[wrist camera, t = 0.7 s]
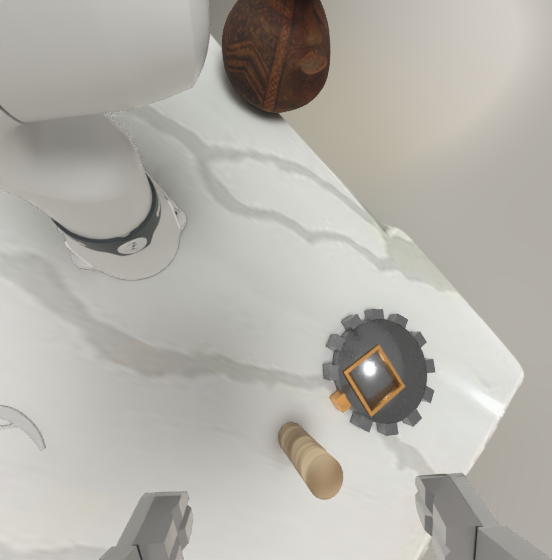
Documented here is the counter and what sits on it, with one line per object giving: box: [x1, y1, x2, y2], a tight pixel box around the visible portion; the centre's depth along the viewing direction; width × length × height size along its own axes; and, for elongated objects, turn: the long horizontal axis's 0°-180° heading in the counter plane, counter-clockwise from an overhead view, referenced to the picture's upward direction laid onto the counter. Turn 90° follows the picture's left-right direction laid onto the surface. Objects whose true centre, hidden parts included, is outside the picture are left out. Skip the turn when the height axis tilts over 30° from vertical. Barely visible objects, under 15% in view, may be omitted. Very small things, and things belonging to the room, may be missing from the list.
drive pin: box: [278, 423, 343, 500], centre depth 38 cm, size 4×4×14 cm
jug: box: [222, 0, 330, 113], centre depth 45 cm, size 22×22×30 cm
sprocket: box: [323, 309, 435, 436], centre depth 49 cm, size 22×22×3 cm
